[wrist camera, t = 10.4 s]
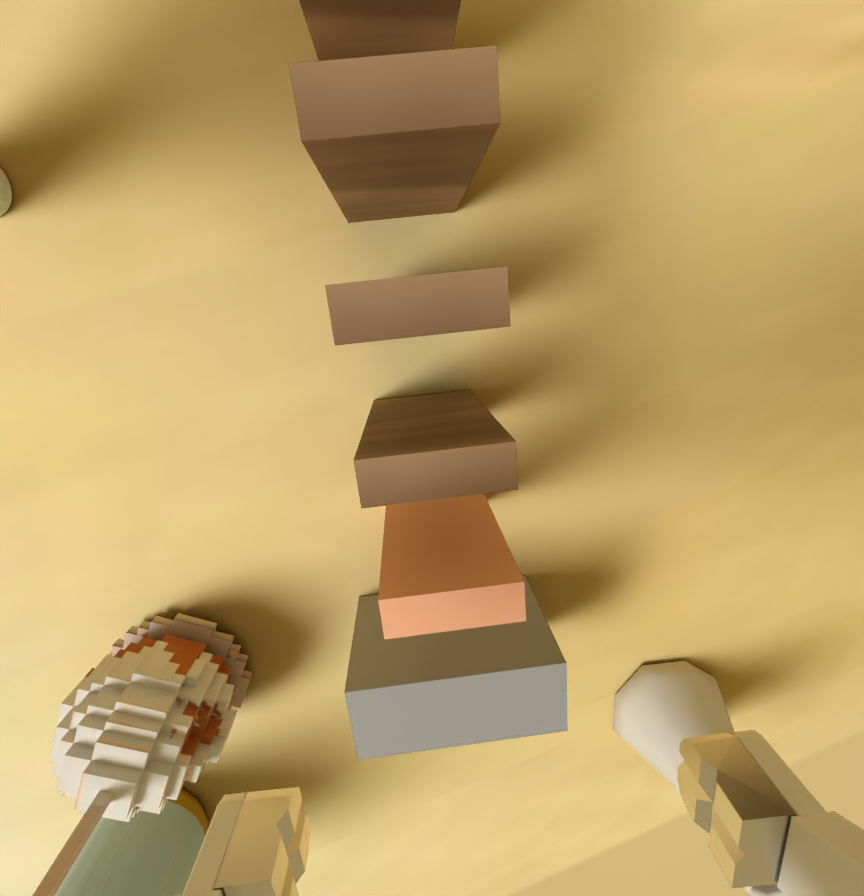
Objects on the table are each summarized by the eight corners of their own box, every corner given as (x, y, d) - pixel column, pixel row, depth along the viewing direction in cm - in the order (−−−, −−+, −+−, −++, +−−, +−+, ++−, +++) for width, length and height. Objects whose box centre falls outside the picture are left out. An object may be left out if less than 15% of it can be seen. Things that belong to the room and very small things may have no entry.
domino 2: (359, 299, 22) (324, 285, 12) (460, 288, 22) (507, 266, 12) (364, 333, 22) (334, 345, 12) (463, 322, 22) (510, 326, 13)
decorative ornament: (235, 725, 28) (65, 1141, 14) (109, 696, 27) (-219, 1121, 13) (267, 629, 27) (109, 997, 12) (133, 593, 25) (-219, 956, 11)
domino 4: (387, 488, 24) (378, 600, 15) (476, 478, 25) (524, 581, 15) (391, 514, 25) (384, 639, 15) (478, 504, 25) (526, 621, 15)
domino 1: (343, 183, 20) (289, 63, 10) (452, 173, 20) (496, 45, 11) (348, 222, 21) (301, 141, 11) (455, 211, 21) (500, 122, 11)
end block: (525, 575, 27) (566, 662, 20) (527, 630, 28) (567, 730, 21) (359, 596, 26) (344, 692, 20) (368, 651, 27) (358, 759, 21)
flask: (729, 666, 30) (885, 832, 20) (687, 747, 32) (810, 934, 22) (632, 648, 29) (746, 814, 19) (594, 733, 31) (680, 922, 21)
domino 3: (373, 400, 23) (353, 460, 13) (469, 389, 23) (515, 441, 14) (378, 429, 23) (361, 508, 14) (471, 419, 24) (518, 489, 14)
